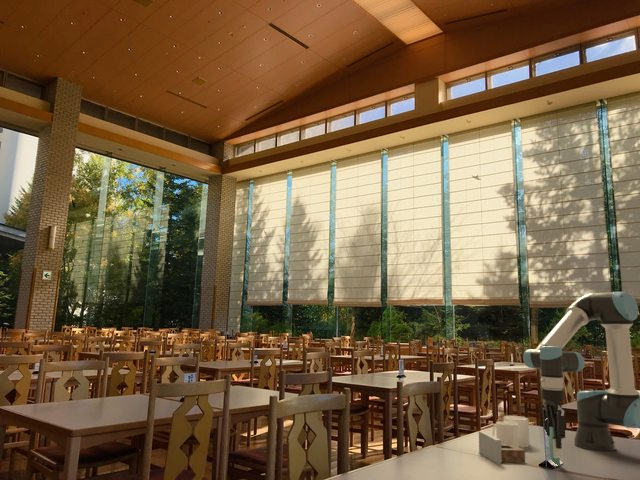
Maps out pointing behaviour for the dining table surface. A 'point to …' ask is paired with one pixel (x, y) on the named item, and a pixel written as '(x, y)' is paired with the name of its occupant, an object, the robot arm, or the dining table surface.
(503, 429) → the cup
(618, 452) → the dining table surface
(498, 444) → the wall
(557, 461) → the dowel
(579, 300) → the robot arm
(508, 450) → the block
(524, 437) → the mug
